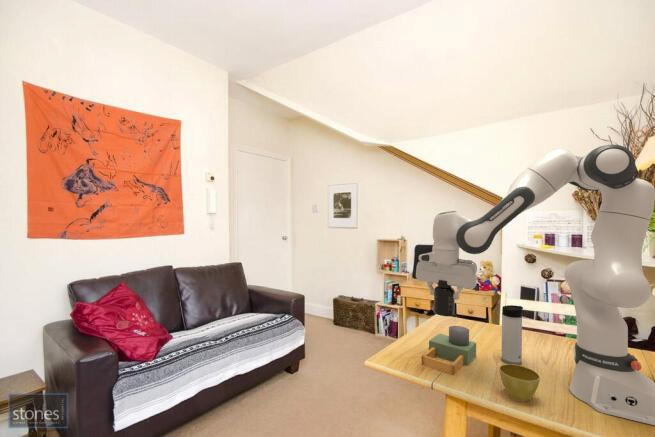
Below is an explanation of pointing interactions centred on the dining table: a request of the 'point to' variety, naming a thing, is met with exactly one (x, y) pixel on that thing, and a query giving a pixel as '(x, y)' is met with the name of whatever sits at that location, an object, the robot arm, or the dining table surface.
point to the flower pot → (519, 381)
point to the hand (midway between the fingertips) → (444, 296)
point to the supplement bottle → (444, 299)
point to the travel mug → (512, 334)
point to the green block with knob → (454, 345)
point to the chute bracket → (441, 362)
